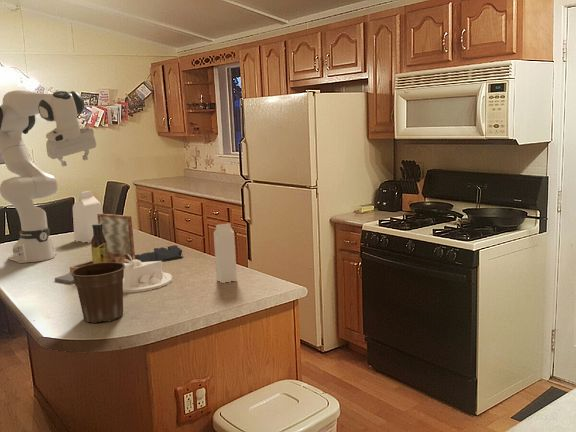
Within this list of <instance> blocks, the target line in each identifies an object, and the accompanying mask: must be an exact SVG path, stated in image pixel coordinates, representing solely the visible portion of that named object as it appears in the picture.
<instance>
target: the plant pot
mask: <svg viewBox="0 0 576 432" xmlns="http://www.w3.org/2000/svg"><path fill="white" fill-rule="evenodd" d="M124 268H125V265H124V264H122V263H117V262H104V263H95V264H89V265H85V266H81V267H78V268H76V269H74V270H73V271H71V275H72V276H73V278H74V282H75V283H74V285H75V286H76V290H77V294H78V299H79V304H80V308H81V312H82V318H83V320H84V322H86V321H87V322H86V323H89V322H91V323H90V324H98V323H97V322H100V323H101V322H105V321H108V322H110V321H109V320H112V321H114V320H113V319H115V320H117V319H116V318H118V317H119V318H121V317H122V316H123V315H124V293H123V278H124ZM120 316H121V317H120ZM119 318H118V319H119Z"/></svg>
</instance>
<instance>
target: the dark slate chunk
mask: <svg viewBox="0 0 576 432" xmlns="http://www.w3.org/2000/svg"><path fill="white" fill-rule="evenodd" d="M182 253H183V250H182V249H181V248H180V247H178V245H177V244H174V245H170V246H167V247H163V246H162V247H160V248H158V247H154V248H153V251H152V252H151V251H149V252H144V253H141V254H140V253H139V254H135V255H134V256H135V259H137V260H140V261H141V262H152V261H162V263H164V262H168V261H170V262H171V261H176V260H180V259H181V260H182V259H183V258H184V256H183V255H182Z"/></svg>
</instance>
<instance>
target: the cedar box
mask: <svg viewBox="0 0 576 432" xmlns="http://www.w3.org/2000/svg"><path fill="white" fill-rule="evenodd" d="M97 217H98V224H102V226H103V227H102V231H103V235H104V238H105V240H106V242H107V252H108V262H115V257H118V256H120V259H119V262H121V260H122V257H123V256H126V259H128V260H130V261H131V259H130V257H129V256H128V255H127V254H129V255H130V256H131V258H132V260H135V256H134V255H136V253H135V243H134V242H135V241H134V232H133V229H134V228H133V221H132V216H131V215H123V214H122V215H121V214H113V213H112V214H111V213H103V214H100V213H99V214H97ZM126 263H129V262H126ZM89 264H93V260H89V261H85V262H81V263H78V264H76V265H72V266H69V274H70V273H71V271H73V270H74V269H76V268H78V267H81V266H85V265H89Z"/></svg>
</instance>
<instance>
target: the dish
mask: <svg viewBox="0 0 576 432" xmlns="http://www.w3.org/2000/svg"><path fill="white" fill-rule="evenodd" d="M127 255H128V256H129V257H130V259H131V261H130V260H128V259H125V261H126V262H129V263H123V264H124V265H125V268H124V278H123V294H125V293H139V292H141V291H142V292H148V291H147V290H149V291H152V289H153V290H156V288H157V289H160V288H163V287H166V286H168V285H169V284H171V283H172V282H173V279H172V278H173V275H172V274H170V273H169V272H164V271H163V262H162V261H152V262H141V261H140V260H137V259H135V260H132V258H131V256H130V255H129V254H127ZM171 281H172V282H171ZM170 282H171V283H170ZM165 285H166V286H165ZM162 286H163V287H162Z"/></svg>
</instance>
